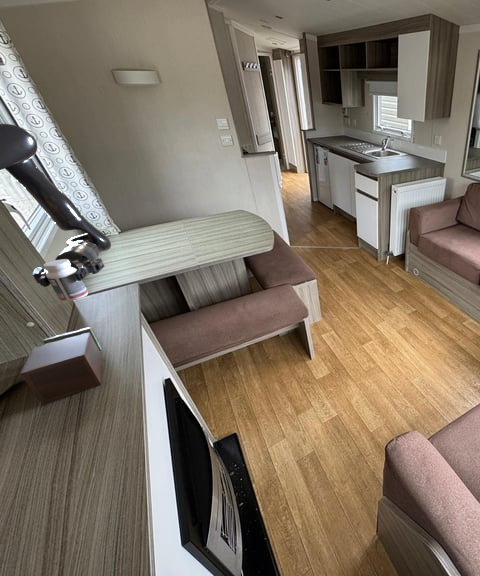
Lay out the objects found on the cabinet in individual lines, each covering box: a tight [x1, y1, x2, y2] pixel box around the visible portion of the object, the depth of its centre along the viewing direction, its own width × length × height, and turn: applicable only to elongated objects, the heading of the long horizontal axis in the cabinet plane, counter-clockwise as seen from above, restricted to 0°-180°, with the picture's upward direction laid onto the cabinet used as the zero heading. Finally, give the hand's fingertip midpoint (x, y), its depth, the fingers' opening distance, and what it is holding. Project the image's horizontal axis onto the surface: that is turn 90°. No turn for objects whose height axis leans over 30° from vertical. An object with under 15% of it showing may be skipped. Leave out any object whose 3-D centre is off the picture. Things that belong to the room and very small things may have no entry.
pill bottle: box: [42, 259, 89, 302], centre depth 79 cm, size 6×6×10 cm
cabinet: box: [20, 333, 105, 405], centre depth 69 cm, size 11×10×9 cm
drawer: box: [42, 326, 103, 352], centre depth 73 cm, size 11×8×7 cm
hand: (61, 280), depth 76 cm, fingers closed on pill bottle, 5 cm apart
